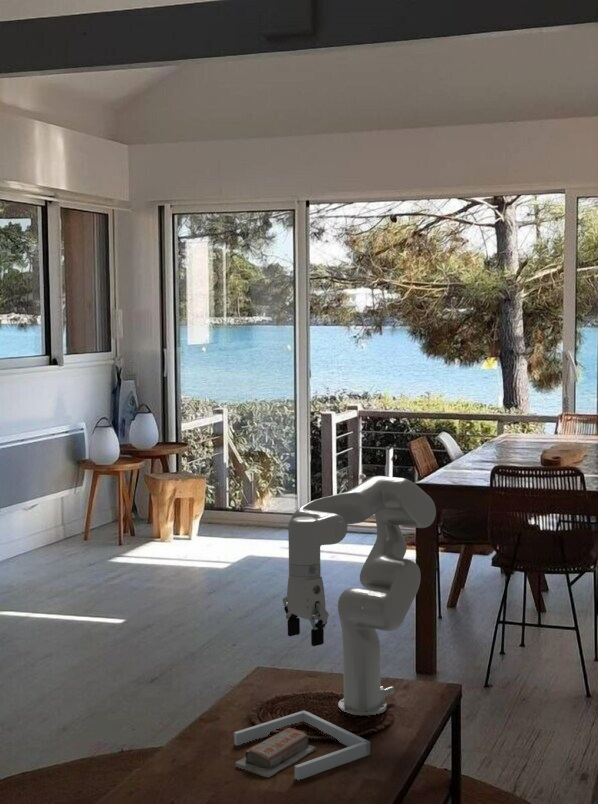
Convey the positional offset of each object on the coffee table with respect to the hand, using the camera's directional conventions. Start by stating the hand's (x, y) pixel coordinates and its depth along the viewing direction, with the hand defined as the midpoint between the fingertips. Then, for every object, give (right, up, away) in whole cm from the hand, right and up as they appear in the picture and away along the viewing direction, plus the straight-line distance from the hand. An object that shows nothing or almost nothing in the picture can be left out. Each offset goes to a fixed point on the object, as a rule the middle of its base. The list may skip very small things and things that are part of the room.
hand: (305, 639), depth 268 cm
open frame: (-1, -26, -2) cm, 26 cm away
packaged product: (-7, -27, -6) cm, 29 cm away
